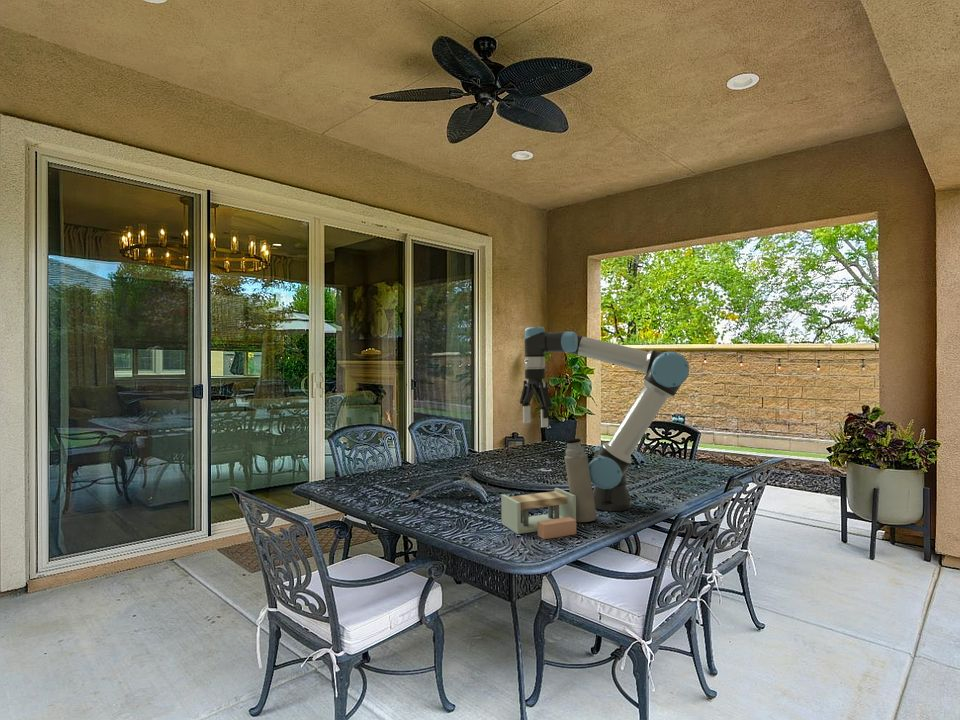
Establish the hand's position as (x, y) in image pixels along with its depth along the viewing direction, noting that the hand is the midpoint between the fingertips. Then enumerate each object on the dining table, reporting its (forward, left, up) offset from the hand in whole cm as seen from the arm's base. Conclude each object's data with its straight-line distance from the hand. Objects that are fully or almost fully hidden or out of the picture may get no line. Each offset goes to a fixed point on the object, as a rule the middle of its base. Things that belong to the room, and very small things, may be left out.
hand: (535, 425), depth 203 cm
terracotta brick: (+8, +28, -32) cm, 43 cm away
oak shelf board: (+8, +16, -25) cm, 30 cm away
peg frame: (+8, +16, -32) cm, 36 cm away
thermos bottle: (-9, +19, -31) cm, 38 cm away
